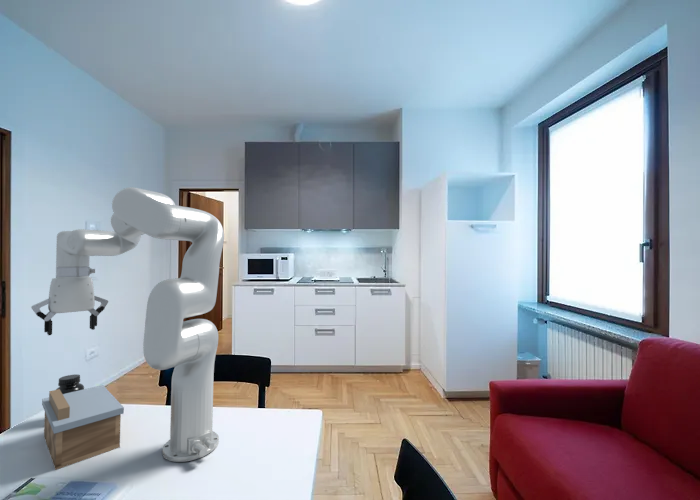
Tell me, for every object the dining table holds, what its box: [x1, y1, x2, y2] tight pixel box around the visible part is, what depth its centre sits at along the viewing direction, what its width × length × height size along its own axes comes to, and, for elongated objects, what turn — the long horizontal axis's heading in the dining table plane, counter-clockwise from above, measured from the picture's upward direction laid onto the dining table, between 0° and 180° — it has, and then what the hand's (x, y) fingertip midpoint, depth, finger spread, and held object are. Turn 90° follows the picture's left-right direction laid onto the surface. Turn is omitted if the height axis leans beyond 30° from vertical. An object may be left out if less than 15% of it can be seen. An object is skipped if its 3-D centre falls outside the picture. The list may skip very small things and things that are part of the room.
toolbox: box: [43, 412, 122, 471], centre depth 84 cm, size 20×12×8 cm, turn 48°
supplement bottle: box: [55, 374, 85, 394], centre depth 96 cm, size 7×7×12 cm
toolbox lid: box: [41, 384, 125, 434], centre depth 84 cm, size 21×13×4 cm, turn 48°
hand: (71, 331), depth 97 cm, fingers open, 9 cm apart
